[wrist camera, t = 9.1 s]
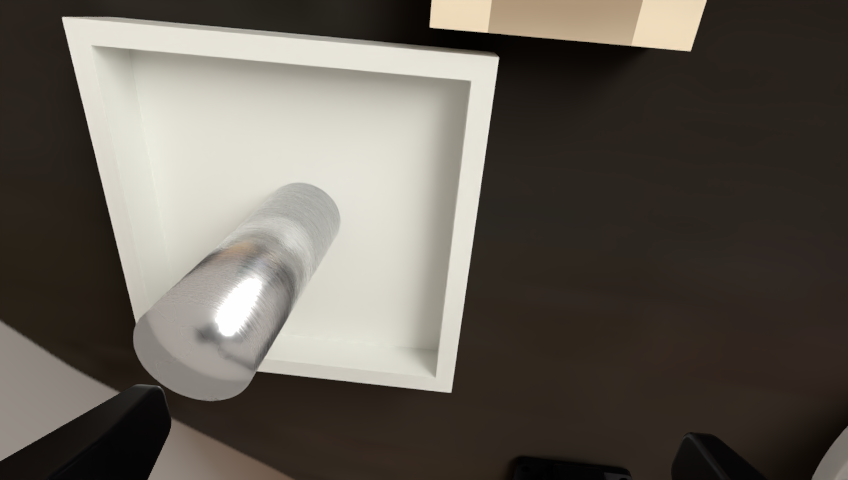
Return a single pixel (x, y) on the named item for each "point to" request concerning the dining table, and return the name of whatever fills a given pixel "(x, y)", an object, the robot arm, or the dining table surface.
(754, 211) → the dining table surface
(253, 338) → the pin
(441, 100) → the tray
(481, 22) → the square wooden frame
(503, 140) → the dining table surface
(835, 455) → the plate stack
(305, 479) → the dining table surface
